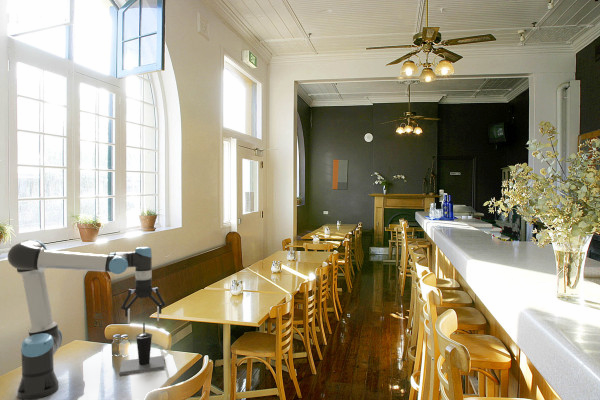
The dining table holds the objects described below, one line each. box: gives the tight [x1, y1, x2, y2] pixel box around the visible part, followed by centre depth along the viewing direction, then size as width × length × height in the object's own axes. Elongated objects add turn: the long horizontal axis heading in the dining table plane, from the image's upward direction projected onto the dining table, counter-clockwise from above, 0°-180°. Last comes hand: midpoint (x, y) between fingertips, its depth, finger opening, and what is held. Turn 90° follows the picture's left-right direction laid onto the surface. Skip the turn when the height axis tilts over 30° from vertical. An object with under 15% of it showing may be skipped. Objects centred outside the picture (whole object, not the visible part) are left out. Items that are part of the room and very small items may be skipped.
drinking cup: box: [135, 322, 153, 365], centre depth 210 cm, size 8×8×20 cm
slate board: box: [119, 355, 165, 376], centre depth 210 cm, size 20×14×2 cm
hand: (143, 321), depth 210 cm, fingers open, 13 cm apart
